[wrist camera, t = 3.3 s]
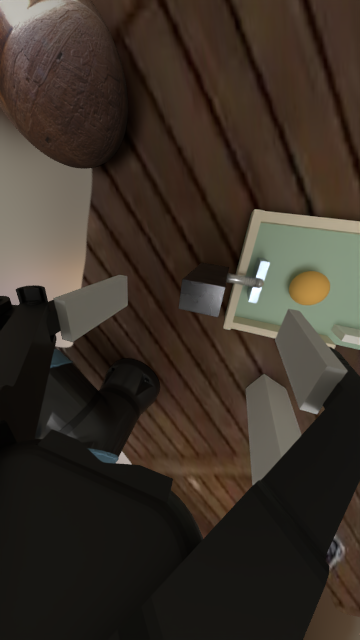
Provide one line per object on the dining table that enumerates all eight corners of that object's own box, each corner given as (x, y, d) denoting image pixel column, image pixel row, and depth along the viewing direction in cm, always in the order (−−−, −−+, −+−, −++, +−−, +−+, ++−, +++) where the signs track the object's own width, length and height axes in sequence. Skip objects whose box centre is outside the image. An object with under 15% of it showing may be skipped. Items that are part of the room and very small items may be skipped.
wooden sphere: (166, 98, 26) (94, -43, 13) (118, 200, 33) (42, 178, 20) (80, 14, 24) (-98, -240, 11) (51, 139, 32) (-79, 72, 19)
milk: (286, 388, 40) (336, 534, 20) (266, 402, 43) (293, 541, 23) (263, 372, 40) (292, 504, 20) (244, 387, 43) (254, 515, 23)
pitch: (224, 316, 37) (223, 328, 32) (251, 213, 28) (254, 209, 24) (367, 347, 32) (390, 367, 27) (448, 235, 24) (499, 235, 19)
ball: (280, 296, 31) (288, 306, 26) (292, 265, 29) (302, 271, 24) (313, 302, 30) (326, 313, 26) (327, 271, 28) (345, 278, 23)
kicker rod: (201, 284, 33) (177, 321, 19) (207, 249, 30) (184, 262, 16) (254, 294, 32) (270, 343, 17) (265, 258, 29) (295, 281, 15)
